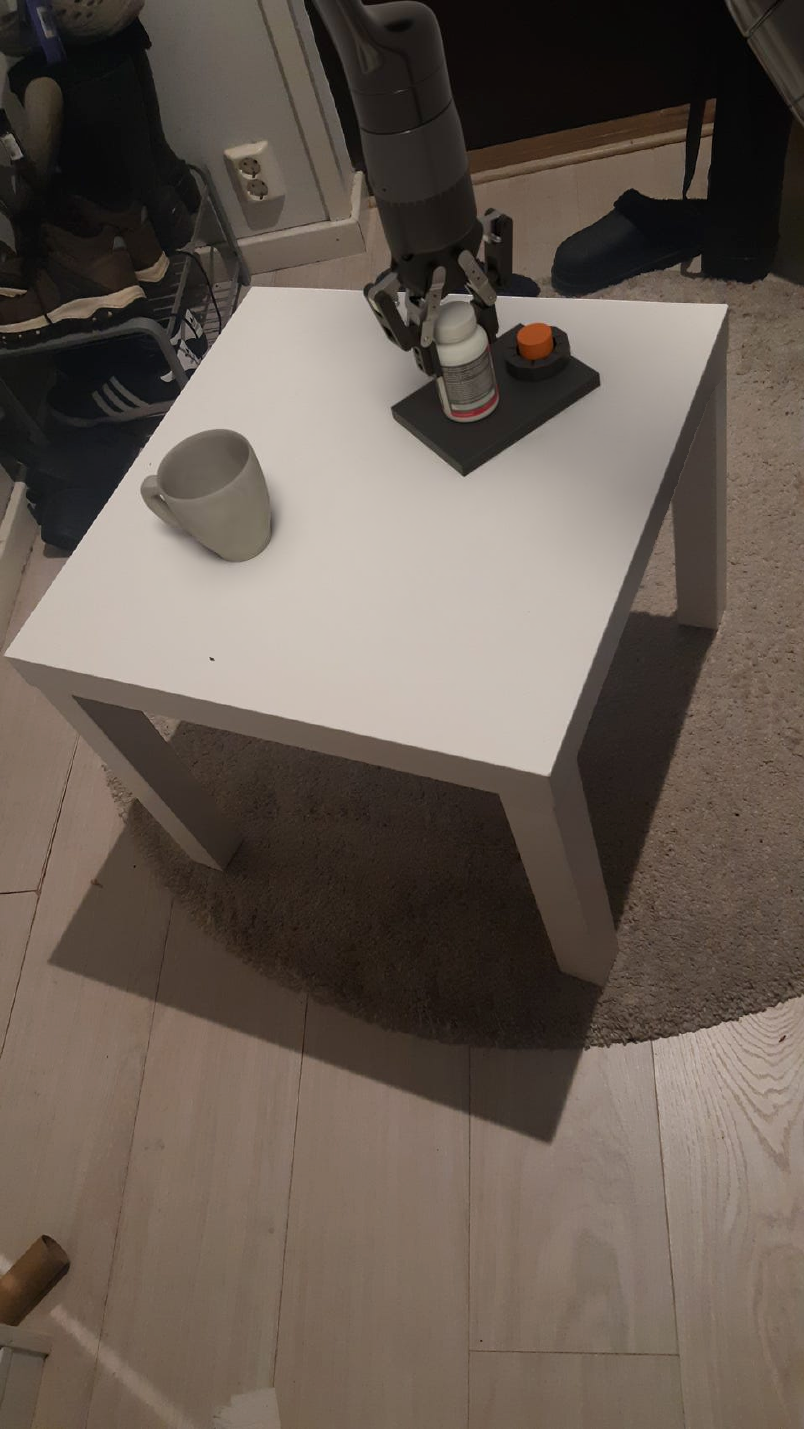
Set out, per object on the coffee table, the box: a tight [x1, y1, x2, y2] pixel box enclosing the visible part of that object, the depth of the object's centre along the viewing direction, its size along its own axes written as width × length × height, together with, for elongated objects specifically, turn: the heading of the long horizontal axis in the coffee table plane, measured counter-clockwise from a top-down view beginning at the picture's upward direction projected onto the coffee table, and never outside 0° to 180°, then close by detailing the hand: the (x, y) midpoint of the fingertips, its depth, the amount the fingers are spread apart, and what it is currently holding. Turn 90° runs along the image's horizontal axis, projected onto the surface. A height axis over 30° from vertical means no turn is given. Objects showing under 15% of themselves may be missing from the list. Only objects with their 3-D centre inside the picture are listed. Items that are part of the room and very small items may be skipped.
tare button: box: [517, 322, 553, 360], centre depth 92 cm, size 3×3×2 cm
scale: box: [390, 322, 601, 477], centre depth 93 cm, size 17×12×3 cm
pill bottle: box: [433, 300, 499, 422], centre depth 89 cm, size 5×5×10 cm
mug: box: [139, 428, 272, 563], centre depth 88 cm, size 12×9×10 cm
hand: (460, 356), depth 88 cm, fingers closed on pill bottle, 5 cm apart
